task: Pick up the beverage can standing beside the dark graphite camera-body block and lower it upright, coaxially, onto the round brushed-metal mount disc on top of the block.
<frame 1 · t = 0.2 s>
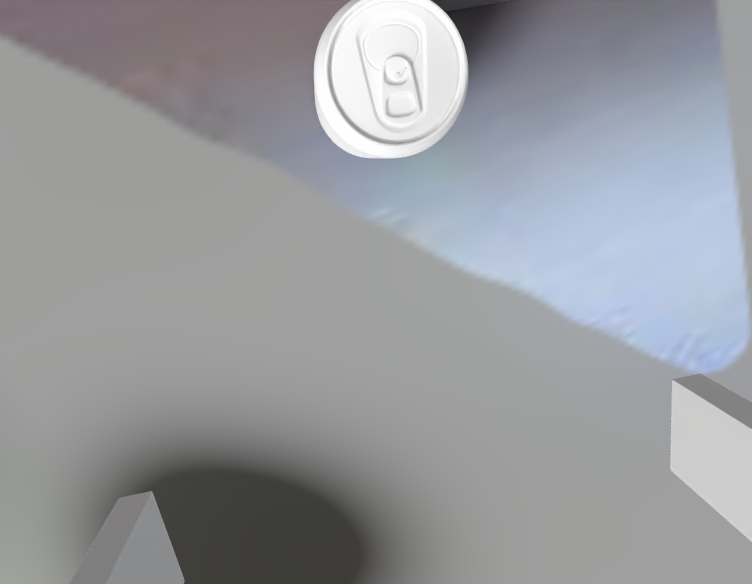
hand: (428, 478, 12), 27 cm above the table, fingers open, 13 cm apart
beverage can: (370, 101, 35), on the table
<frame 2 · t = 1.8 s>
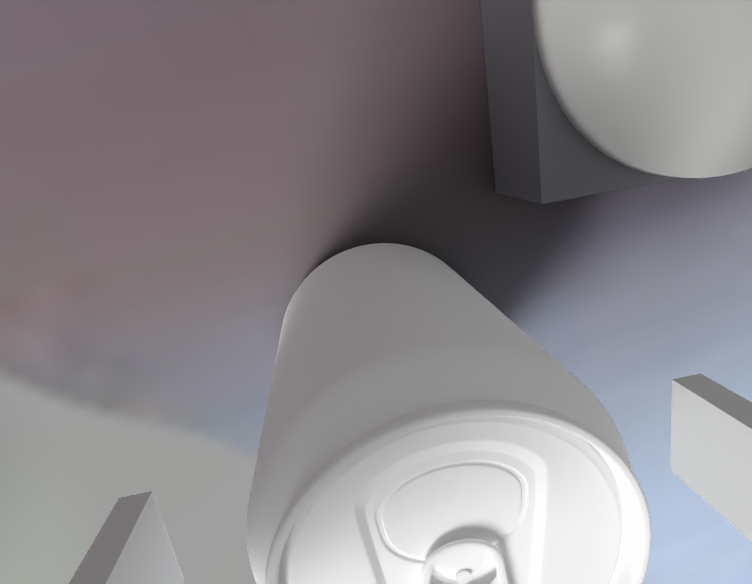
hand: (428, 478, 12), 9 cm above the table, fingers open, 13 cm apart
beverage can: (379, 332, 20), on the table
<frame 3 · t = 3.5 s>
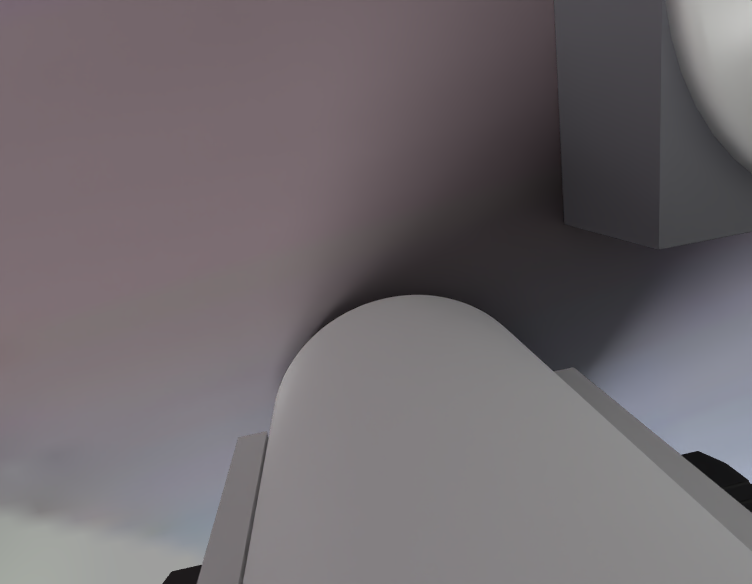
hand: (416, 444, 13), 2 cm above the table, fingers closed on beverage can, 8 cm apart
beverage can: (404, 408, 15), on the table, touching gripper
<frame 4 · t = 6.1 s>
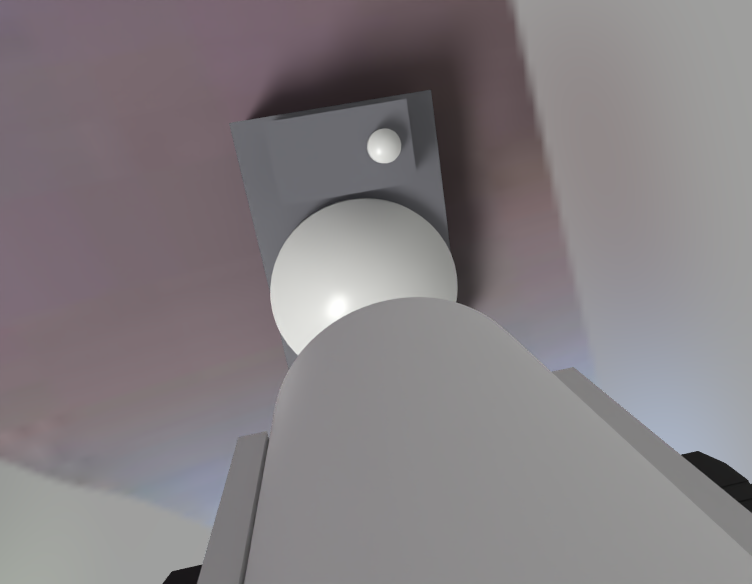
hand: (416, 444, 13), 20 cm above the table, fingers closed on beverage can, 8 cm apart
beverage can: (404, 409, 15), point 18 cm above the table, touching gripper
camera body: (352, 239, 31), on the table
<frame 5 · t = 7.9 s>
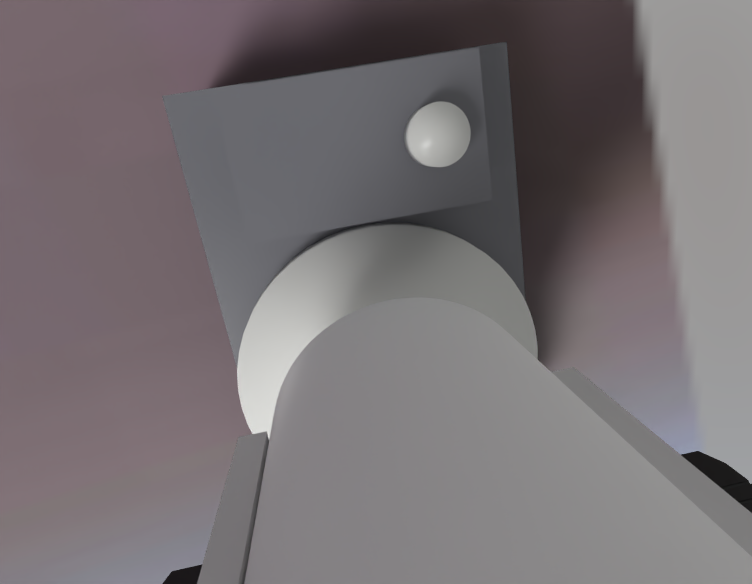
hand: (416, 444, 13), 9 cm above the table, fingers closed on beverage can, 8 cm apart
beverage can: (404, 410, 15), point 7 cm above the table, touching gripper
camera body: (367, 278, 21), on the table
when the fingers open (8 cm above the table, at t = 9.1 s): beverage can drops 1 cm, resting on camera body.
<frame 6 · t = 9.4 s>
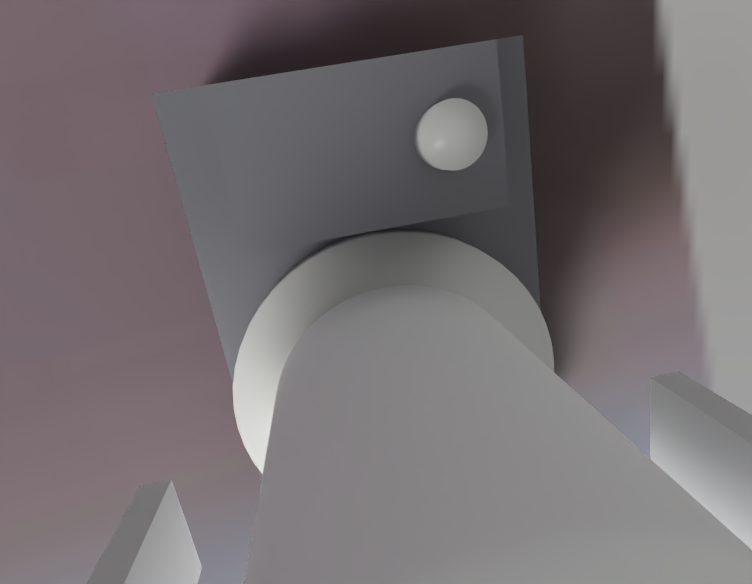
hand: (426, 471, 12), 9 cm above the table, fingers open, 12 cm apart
beverage can: (397, 391, 16), point 5 cm above the table, touching camera body
camera body: (372, 287, 20), on the table
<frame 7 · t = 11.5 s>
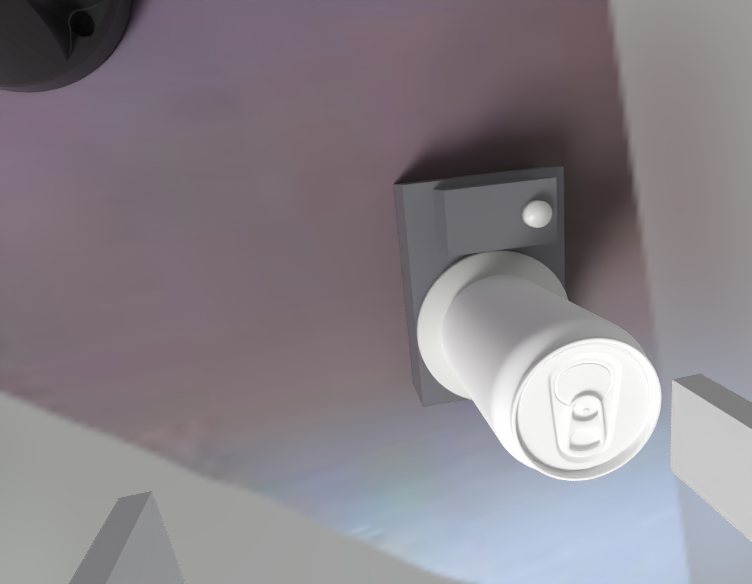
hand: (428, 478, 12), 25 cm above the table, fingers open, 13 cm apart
beverage can: (494, 328, 33), point 5 cm above the table, touching camera body
camera body: (472, 279, 37), on the table
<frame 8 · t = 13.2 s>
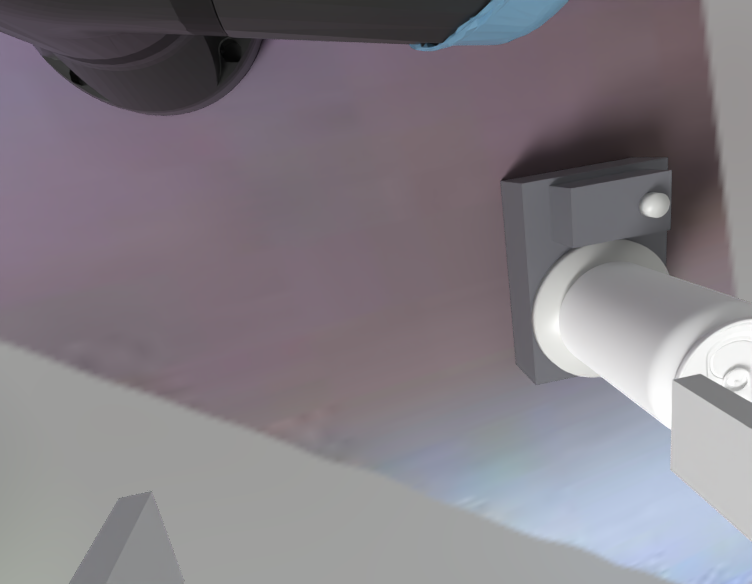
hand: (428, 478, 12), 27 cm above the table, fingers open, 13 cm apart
beverage can: (603, 310, 36), point 5 cm above the table, touching camera body
camera body: (571, 265, 40), on the table
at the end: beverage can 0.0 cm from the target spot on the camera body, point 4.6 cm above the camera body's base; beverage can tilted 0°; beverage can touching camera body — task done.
